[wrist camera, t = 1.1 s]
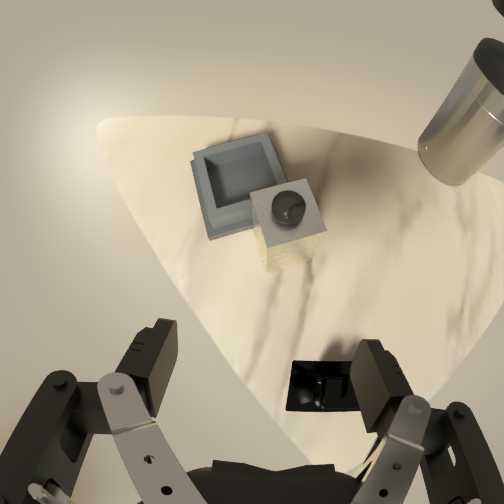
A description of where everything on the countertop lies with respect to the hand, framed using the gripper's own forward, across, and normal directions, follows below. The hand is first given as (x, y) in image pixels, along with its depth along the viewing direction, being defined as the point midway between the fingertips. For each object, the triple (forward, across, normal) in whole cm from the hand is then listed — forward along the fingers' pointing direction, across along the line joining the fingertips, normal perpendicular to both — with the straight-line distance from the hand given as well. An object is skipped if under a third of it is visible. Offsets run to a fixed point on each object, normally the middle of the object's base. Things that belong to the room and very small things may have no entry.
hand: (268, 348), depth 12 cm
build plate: (+11, -9, +14) cm, 20 cm away
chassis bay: (+23, +3, -3) cm, 24 cm away
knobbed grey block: (+19, -2, +2) cm, 20 cm away
